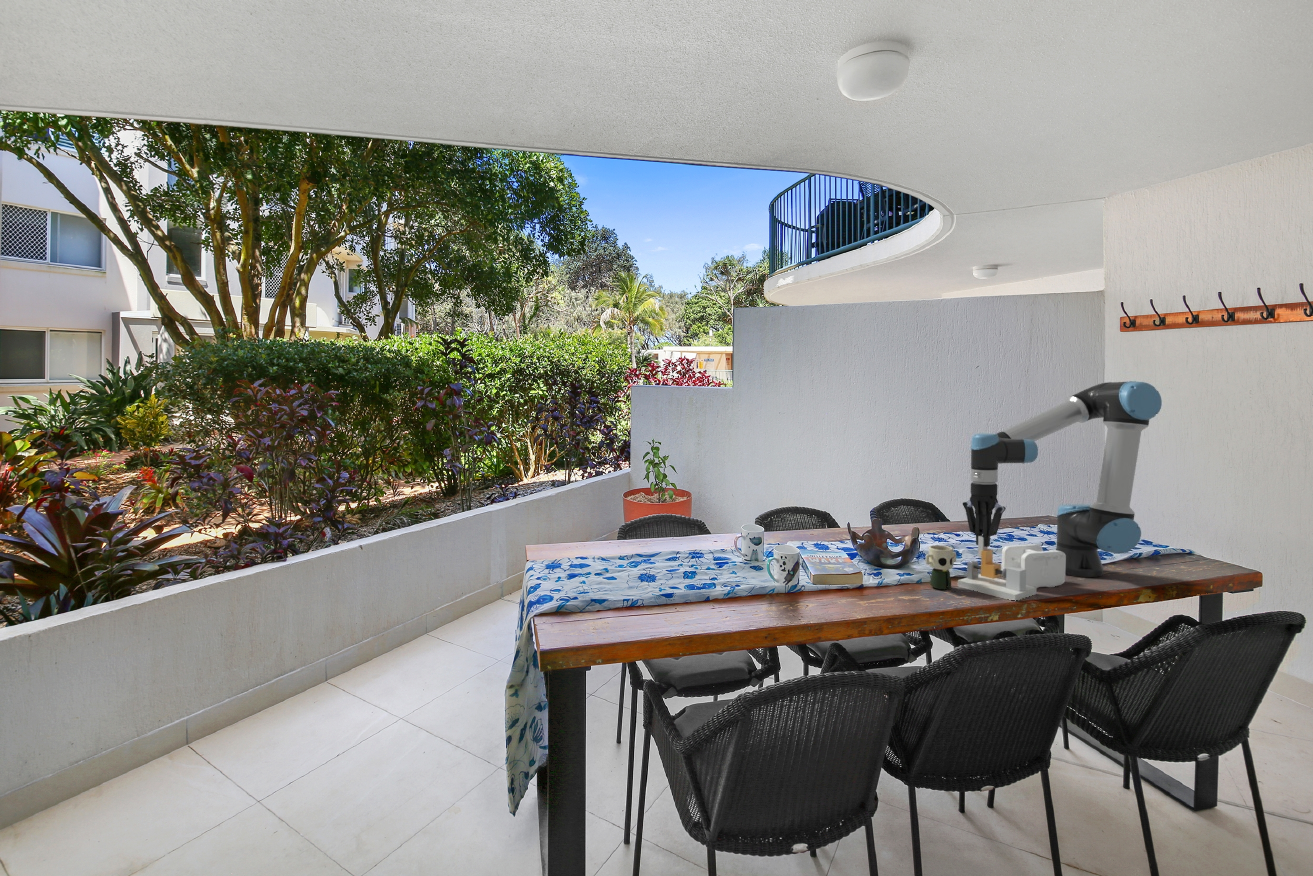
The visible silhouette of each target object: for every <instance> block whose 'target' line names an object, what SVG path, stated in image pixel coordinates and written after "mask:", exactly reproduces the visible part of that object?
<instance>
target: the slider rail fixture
mask: <svg viewBox="0 0 1313 876" xmlns="http://www.w3.org/2000/svg"><path fill="white" fill-rule="evenodd" d="M966 566H967V568H966V577H964V578H961V579H958V580H957V587H959V588H962V589H967V590H970V591H973V590H974V592H977V591H978V593H982V594H985V595H989V596H994V597H997V598H999V599H1000V598H1001V599H1003V600H1004V599H1005V600H1007V599H1009V600H1008V601H1011V600H1015V601H1014V602H1017V601H1016V600H1018V601H1020V600H1019V599H1021V600H1023V599H1022V598H1024V599H1026V598H1025V597H1027V598H1029V596H1030V597H1032V595H1033V596H1036V595H1037V588H1035V587H1031V586H1027V585H1026V569H1023V568H1018V567H1014V566H1012V567H1009V568H1004V569H1003V571H1002V569H1001V570H997V569H995V573H997V574H1001V576H1002V579H1001V578H999V577H998V578H995V579H992V578H988V577H984V576H981V573H979V570H980V571H981V564H980V565H979V561H976V560H972V561H971V562H970V561H967V562H966ZM1003 578H1004V579H1003ZM1005 578H1006V579H1005Z"/></svg>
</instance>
